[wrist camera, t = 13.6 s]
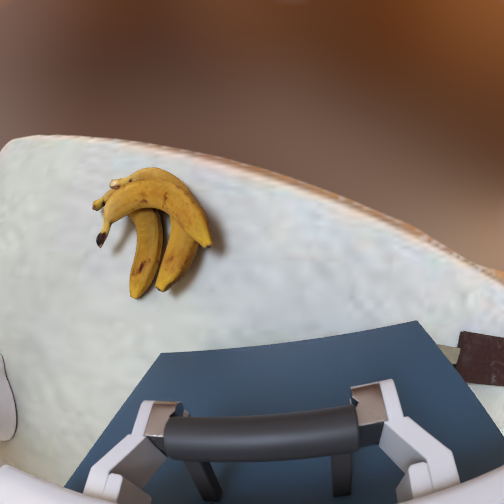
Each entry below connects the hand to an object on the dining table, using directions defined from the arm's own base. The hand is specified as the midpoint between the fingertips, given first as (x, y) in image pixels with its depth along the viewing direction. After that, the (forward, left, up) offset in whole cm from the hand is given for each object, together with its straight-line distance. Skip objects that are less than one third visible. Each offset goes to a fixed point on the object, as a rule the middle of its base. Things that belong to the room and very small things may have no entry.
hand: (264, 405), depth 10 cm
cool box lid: (+1, -2, -6) cm, 6 cm away
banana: (-21, +8, -22) cm, 31 cm away
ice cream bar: (+19, +5, -22) cm, 30 cm away
